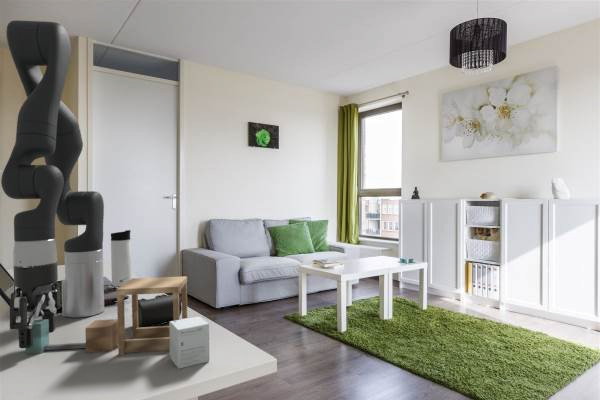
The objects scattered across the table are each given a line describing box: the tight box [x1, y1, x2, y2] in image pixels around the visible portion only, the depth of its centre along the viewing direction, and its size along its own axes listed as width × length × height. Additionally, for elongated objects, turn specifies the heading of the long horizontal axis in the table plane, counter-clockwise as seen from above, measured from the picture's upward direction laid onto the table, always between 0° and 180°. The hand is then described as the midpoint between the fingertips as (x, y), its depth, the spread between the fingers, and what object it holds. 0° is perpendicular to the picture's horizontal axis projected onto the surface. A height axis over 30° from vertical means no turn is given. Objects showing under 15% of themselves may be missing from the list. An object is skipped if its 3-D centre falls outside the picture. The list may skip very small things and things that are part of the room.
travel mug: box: [110, 229, 132, 288], centre depth 137 cm, size 6×7×20 cm
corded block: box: [25, 318, 118, 355], centre depth 82 cm, size 17×5×6 cm, turn 97°
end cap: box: [138, 293, 182, 328], centre depth 97 cm, size 10×7×7 cm
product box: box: [168, 316, 210, 370], centre depth 76 cm, size 6×6×7 cm
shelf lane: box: [115, 275, 189, 356], centre depth 84 cm, size 12×10×13 cm
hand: (37, 339), depth 81 cm, fingers open, 8 cm apart
